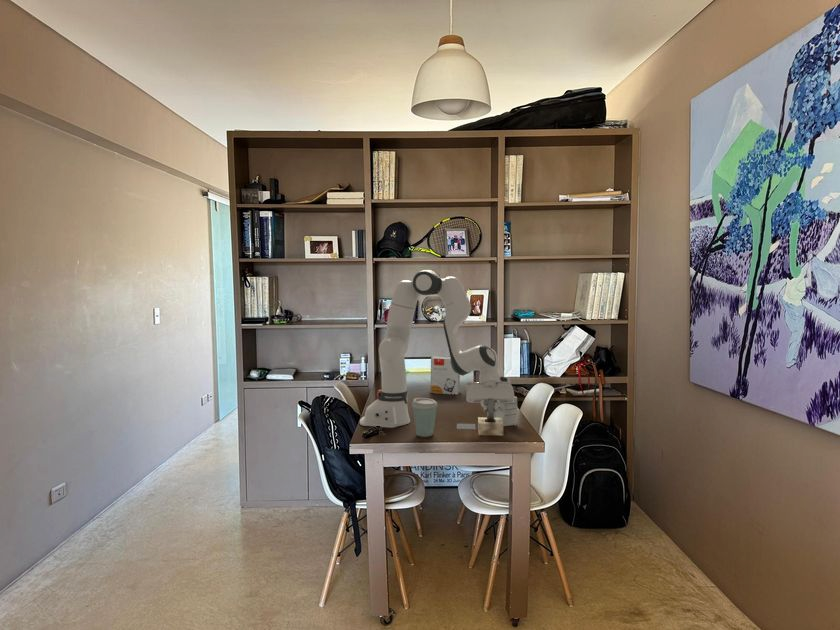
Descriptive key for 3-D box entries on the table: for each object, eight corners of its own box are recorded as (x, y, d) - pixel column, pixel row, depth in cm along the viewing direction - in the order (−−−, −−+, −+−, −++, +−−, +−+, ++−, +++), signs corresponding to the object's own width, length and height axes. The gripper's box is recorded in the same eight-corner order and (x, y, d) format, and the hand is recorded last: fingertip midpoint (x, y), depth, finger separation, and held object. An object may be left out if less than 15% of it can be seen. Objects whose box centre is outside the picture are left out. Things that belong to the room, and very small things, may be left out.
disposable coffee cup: (436, 431, 224) (436, 396, 223) (438, 439, 214) (438, 402, 212) (411, 431, 224) (411, 396, 223) (412, 439, 213) (411, 403, 212)
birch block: (478, 435, 218) (478, 423, 218) (477, 428, 228) (477, 417, 228) (503, 436, 217) (503, 424, 217) (501, 429, 227) (501, 417, 227)
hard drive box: (430, 393, 295) (430, 357, 293) (433, 390, 302) (433, 355, 301) (457, 395, 291) (457, 358, 290) (460, 391, 299) (460, 356, 297)
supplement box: (493, 423, 237) (494, 394, 236) (508, 421, 240) (508, 393, 239) (503, 427, 230) (503, 398, 229) (517, 425, 233) (517, 396, 232)
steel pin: (487, 423, 221) (487, 400, 220) (486, 421, 224) (486, 398, 223) (494, 423, 221) (494, 400, 220) (494, 421, 224) (494, 398, 223)
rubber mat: (456, 429, 227) (456, 428, 227) (456, 424, 235) (456, 423, 235) (475, 430, 226) (475, 429, 226) (475, 424, 234) (475, 423, 234)
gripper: (465, 378, 229) (465, 406, 220) (513, 378, 227) (515, 406, 218) (465, 386, 233) (465, 414, 225) (512, 386, 232) (514, 414, 223)
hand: (490, 410), depth 221 cm, fingers closed on steel pin, 3 cm apart
